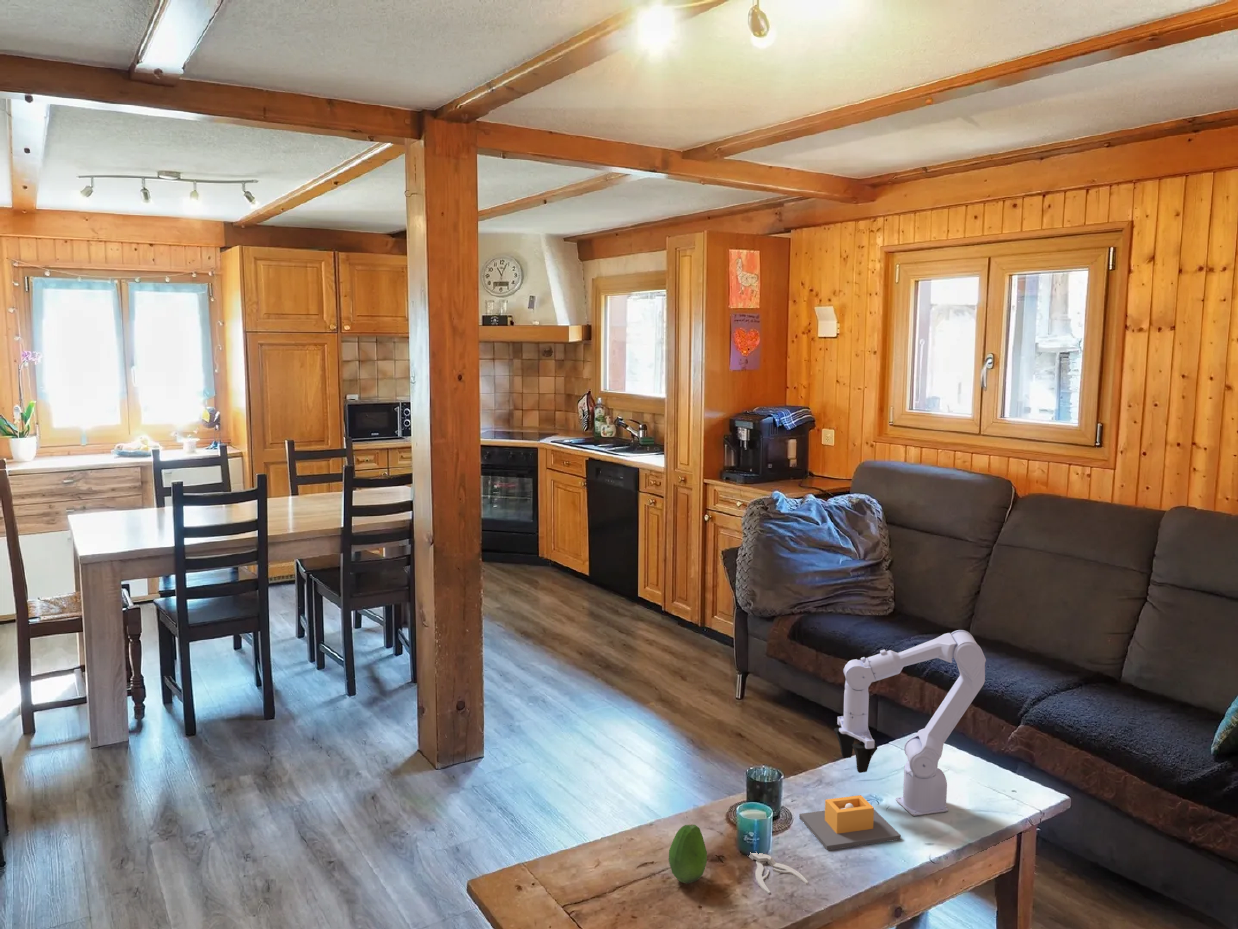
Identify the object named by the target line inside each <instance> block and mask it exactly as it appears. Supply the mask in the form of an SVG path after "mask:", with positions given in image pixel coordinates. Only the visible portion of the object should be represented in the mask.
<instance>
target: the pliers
mask: <svg viewBox="0 0 1238 929" xmlns="http://www.w3.org/2000/svg"><path fill="white" fill-rule="evenodd" d="M748 857H749V858H750V859H751V861H754V860H755V864H756V869H755V872H754V873H755V874H754V875H755V876H754V877H755V880H756V882H757V884H758V885H759V887H760V888H761V889H762V891H764V892H765V893H766V894H768V895H771V890H770V889H769V888H768V886H767V885H766V883H765V881H764V880H765V879H767V878H768V877H769V874H770V872H769V869H767V872H766V874H765V875H763V873H764V870H765V867H764V864H766V863H767V864H768V865H769V866H771V868H772V870H773V871H774V872H776V873H781V874H791V875H793V876H794V877H796V878H798V879H799V880H800V881H802V883H804V884H805V885H808V884H809V881H808V880H807V879H806V878H805V876H804V875H802V873H800V872H799V871H797V870H796V869H795V868H792V867H791V866H788V865H787V864H783V863H779V862H776V861H775V859H774V858H773V857H772V856H770V855H769V854H767V853H765V854H763V853H759V854H758V853H757V852H756V853H751V852H750V855H749V856H748Z"/></svg>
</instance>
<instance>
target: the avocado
mask: <svg viewBox="0 0 1238 929" xmlns="http://www.w3.org/2000/svg"><path fill="white" fill-rule="evenodd" d="M700 828H701V827H700V826H698V825H696V824H691V823H690V824H684V825H683V826H682V827H680V828H679V829H678V830H677V832H676V833H675V835H674V837H673V840H672V842H671V845H670V847H669V849H668V864H669V867H670V870H671V873H672V874H673V876H674V877H675V878H676V880H677V881H678V882H681V883H684V884H691V883H695V882H698V880H699V879H701V878H702V876H703V875H704V873H705V869H706V866H707V863H708V859H707V858H708V851H707V847H706V844H705V840H704V837H703V833H702V831H701V829H700Z"/></svg>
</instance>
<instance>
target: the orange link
mask: <svg viewBox="0 0 1238 929" xmlns="http://www.w3.org/2000/svg"><path fill="white" fill-rule="evenodd" d="M824 800H825V801H824V811H825V821H826V822H827V823H828V824H829V825H830V827H831V828H832V829H833V830H834V831H835V832H836V833H837V834H838V833H846V832H853V831H860V830H868V829H873V821H874V810H875V808H874V807H873V805H871V803H869V801H868V800H866V799H865V798H864V796H862V795H852V796H851V795H850V796H845V797H844V796H843V797H835V798H827V799H824ZM847 803H851V804H852V805H853V806H854V808H847V809H842V808H845V805H846V804H847Z"/></svg>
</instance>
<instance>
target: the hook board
mask: <svg viewBox="0 0 1238 929" xmlns="http://www.w3.org/2000/svg"><path fill="white" fill-rule="evenodd" d="M847 808H854V806H853V805H852V804H851V803H847V804H846V805H845V808H842V809H847ZM799 817H800V818H799V819H800V821H801V822H802V823H803V822H804V823H803V824H804V825H805V827H806V828H807V829H808V828H809V829H808V830H809V831H810V832H811V833H812V835H813V834H814V835H815V836H814V835H813V836H814V837H815V838H816V839H817V840H818V842H819V843H820V844H821V846H823V848H824V849H825V850H826V851H831V850H837V849H845V848H846V849H847V848H850V847H857V846H867V845H873V844H878V843H885V842H886V841H887V842H891V841H892V840H893V841H900V840H902V835H901V834H900V833H899V832H898V831H897V830H896V829H895V828H894V827H893V826H892V825H891V824H890V823H889V822H888V821H887V820H886V819H885V818H884V817H883V816H881V815H880V813H879V812H878V811H876V810H875V809H874V821H873V829H868V830H860V831H853V832H846V833H838V834H837V833H836V832H835V831H834V830H833V829H832V828H831V827H830V825H829V824H828V823H827V822H826V821H825V810H818V811H811V812H803V813H799ZM887 842H886V843H887Z"/></svg>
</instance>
